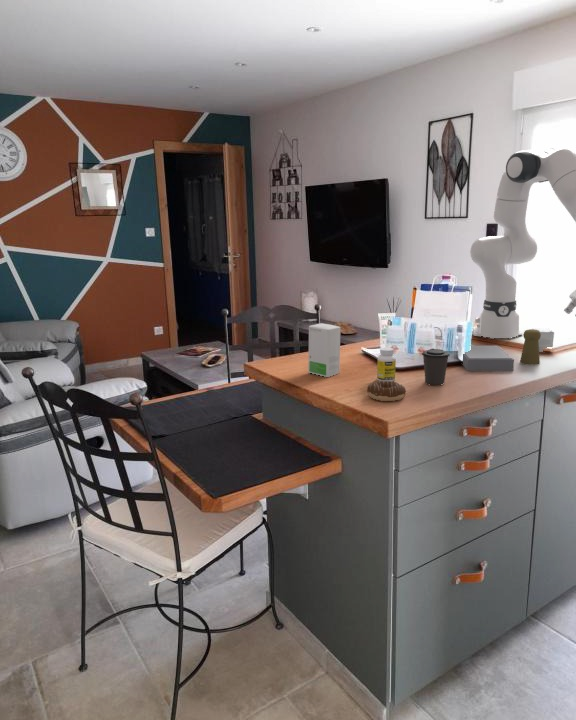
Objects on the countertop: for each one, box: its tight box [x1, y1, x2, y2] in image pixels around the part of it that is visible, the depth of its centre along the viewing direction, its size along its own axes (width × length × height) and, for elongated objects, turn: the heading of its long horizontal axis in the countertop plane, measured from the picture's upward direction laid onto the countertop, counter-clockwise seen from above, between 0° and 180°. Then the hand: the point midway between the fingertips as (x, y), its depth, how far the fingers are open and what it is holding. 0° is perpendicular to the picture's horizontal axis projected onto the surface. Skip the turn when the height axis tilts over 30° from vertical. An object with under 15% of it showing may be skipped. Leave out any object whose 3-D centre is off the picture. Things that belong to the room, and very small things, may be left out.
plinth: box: [462, 345, 515, 372], centre depth 185 cm, size 18×14×4 cm
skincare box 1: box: [307, 323, 341, 378], centre depth 177 cm, size 8×7×16 cm
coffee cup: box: [421, 348, 451, 386], centre depth 165 cm, size 8×8×10 cm
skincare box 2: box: [533, 328, 555, 353], centre depth 199 cm, size 6×6×7 cm
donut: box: [366, 380, 407, 402], centre depth 155 cm, size 11×11×4 cm
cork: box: [519, 328, 541, 366], centre depth 183 cm, size 6×6×11 cm
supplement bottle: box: [376, 346, 397, 382], centre depth 169 cm, size 5×5×10 cm
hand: (571, 314), depth 179 cm, fingers open, 8 cm apart
